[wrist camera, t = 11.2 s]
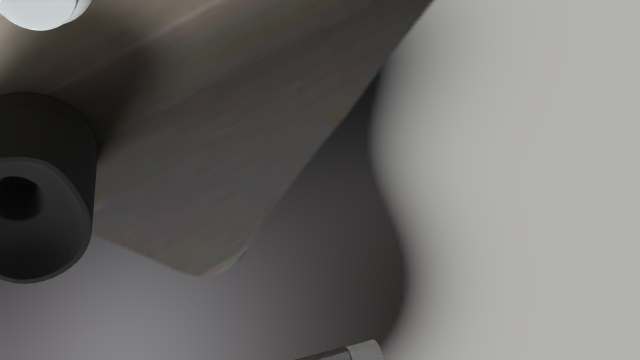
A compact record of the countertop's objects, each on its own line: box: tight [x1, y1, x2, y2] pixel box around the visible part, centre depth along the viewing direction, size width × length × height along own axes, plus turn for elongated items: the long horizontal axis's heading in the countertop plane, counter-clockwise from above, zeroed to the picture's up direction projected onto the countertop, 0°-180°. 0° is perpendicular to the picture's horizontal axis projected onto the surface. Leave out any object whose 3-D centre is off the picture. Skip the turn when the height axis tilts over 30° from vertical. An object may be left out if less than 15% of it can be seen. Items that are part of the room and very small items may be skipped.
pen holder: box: [0, 93, 97, 284], centre depth 38 cm, size 9×9×10 cm
